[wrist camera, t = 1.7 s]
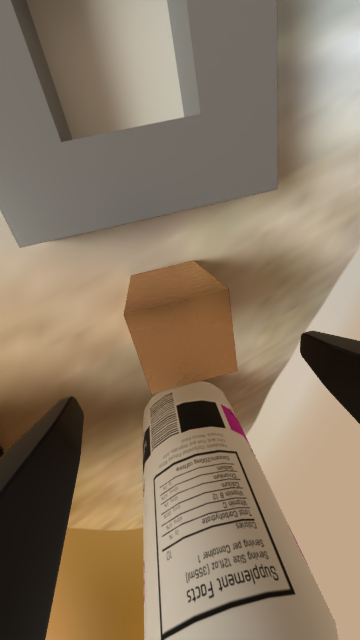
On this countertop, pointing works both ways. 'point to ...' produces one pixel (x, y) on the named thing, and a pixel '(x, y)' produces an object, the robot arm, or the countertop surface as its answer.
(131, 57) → the charcoal well block
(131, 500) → the countertop surface
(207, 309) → the wooden toy block
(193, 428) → the supplement can
